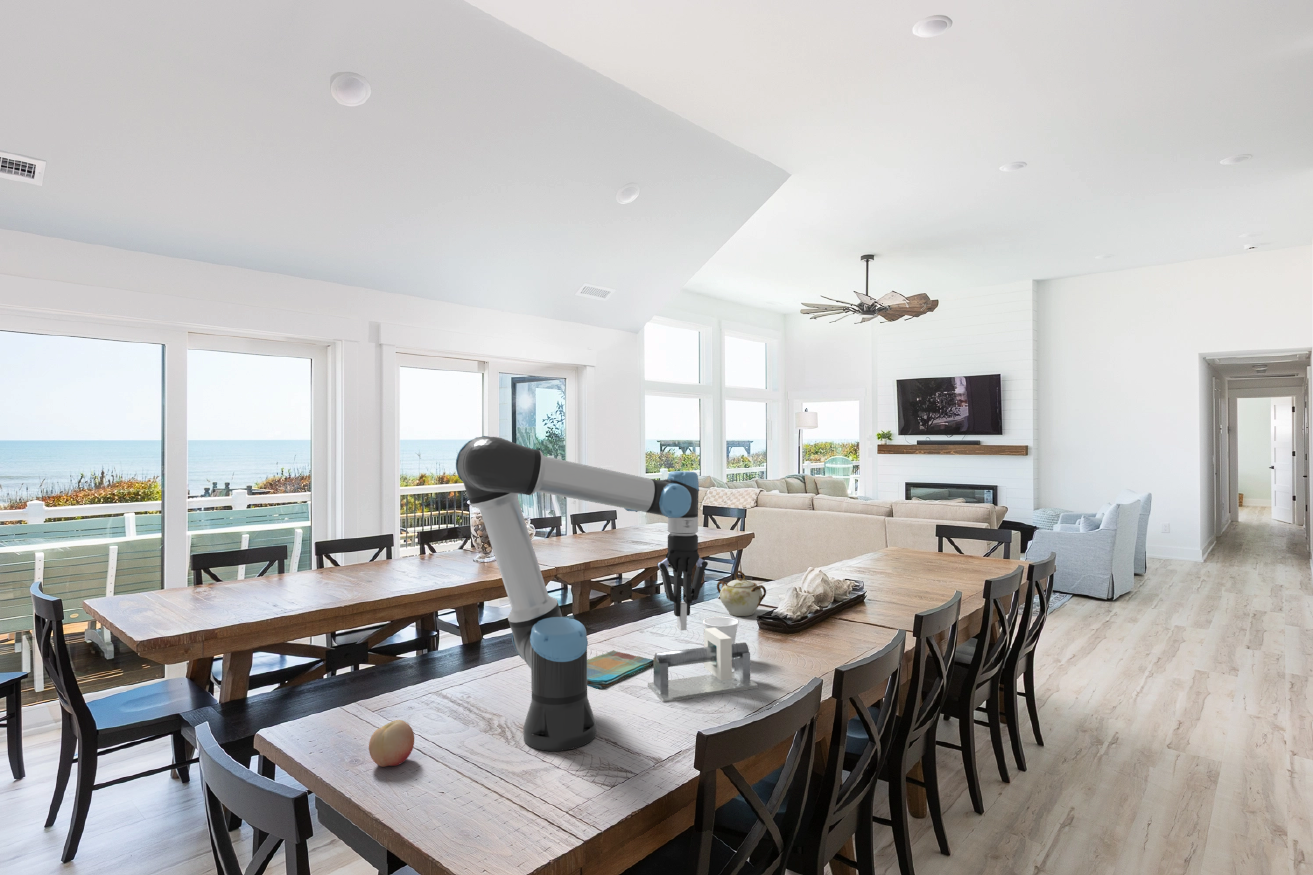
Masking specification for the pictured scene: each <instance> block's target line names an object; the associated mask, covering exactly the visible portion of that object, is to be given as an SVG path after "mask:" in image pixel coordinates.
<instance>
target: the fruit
mask: <svg viewBox="0 0 1313 875" xmlns="http://www.w3.org/2000/svg"><path fill="white" fill-rule="evenodd" d="M414 745H415V732H414V730H413V729H412V726H410V724H409V723H407V722H406V720H405V721H404V720H402V719H395V720H391V721H390V722H388V723H386V724H384V725H383V726H380V727H379V728H378V729H376V730H374V732H373V733H372V735H371V737H370V739H369V743H368V753H369V755H370V758H371V759H372V761H373V762H374V763H375V764H376V765H377V766H379V767H383V768H384V767H389V766H390V767H396V766H399V765H401V764H403V763H404V762H405V761H406V760H408V758H409V757H410V755H411V754H412V752H413V749H414Z"/></svg>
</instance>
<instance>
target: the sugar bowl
mask: <svg viewBox="0 0 1313 875" xmlns="http://www.w3.org/2000/svg"><path fill="white" fill-rule="evenodd" d="M738 574H741V576H742V577H740V578H739V576H738ZM734 576H735V579H734V580H731V581H729V582H727V581H724V580H720V581H718V582H717V584H716V589H717V591H718V593H719V599H720V601H721V603H722V605H723V606H724V608H725V609H726V610H727V612H728V613H729V615H731V616H736V617H749V616H752V615H755V614H754V613H755V611H756V610H758V608H759V606H760V605H761V602H762V601H763V600H764V598H765V597H766V595H767V589H766V587H765V586H764V585H762V584H761V585H760V584H759V585H757V583H756V582H753V581H751V580H748V579H746V575H745V573H744V572H743V571H741V570H737V571H736V572H735V575H734ZM720 585H721V588H720Z"/></svg>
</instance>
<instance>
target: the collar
mask: <svg viewBox="0 0 1313 875" xmlns="http://www.w3.org/2000/svg"><path fill="white" fill-rule="evenodd" d="M703 645H704V646H703V647H711V646H713V645H716V646H717V662H715V661H712V662H705V663H703V664H704V667H703V668H704V669H705V670H707V672H709V673H711V675H712V674H713V675H714V676H716V677H717V678H718V679H720V680H727V679H732V672H733V663H732V662H733V659H732V638H731V637H729V636H727V635H726V634H724V633H723V632H721V631H719V630H718V629H716V628H707V629H705V628H703Z"/></svg>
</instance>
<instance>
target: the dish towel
mask: <svg viewBox="0 0 1313 875" xmlns="http://www.w3.org/2000/svg"><path fill="white" fill-rule="evenodd" d="M651 667H653V659H651V658H647V657H643V656H639V655H633V654H630V653H627V652H626V653H625V652H620V651H618V650H617V651H616V650H611V651H608V652H606V653H603V654H599V655H596V656H594V657H591V658H587V687H590V688H594V689H597V690H603V689H607V688H608V687H611V686H612V685H615V684H616V683H617V682H620V681H622V680H624V679H626V678H628V677H630V676H633V675H635V674H637V673H640V672H641V671H642V672H643V671H644V670H646V669H648V668H651Z"/></svg>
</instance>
